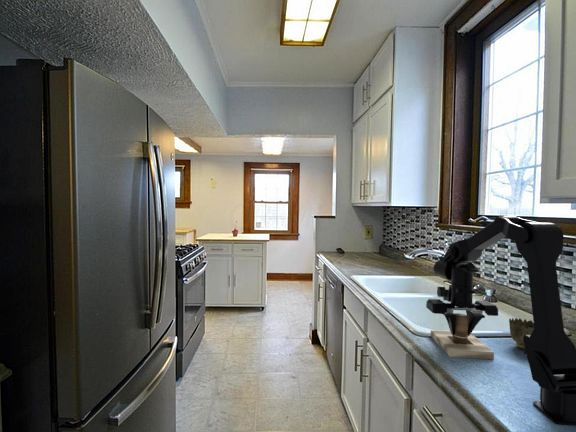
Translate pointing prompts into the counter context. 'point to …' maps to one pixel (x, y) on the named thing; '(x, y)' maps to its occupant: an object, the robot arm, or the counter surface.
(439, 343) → the board
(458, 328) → the peg
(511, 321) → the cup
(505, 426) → the counter surface
